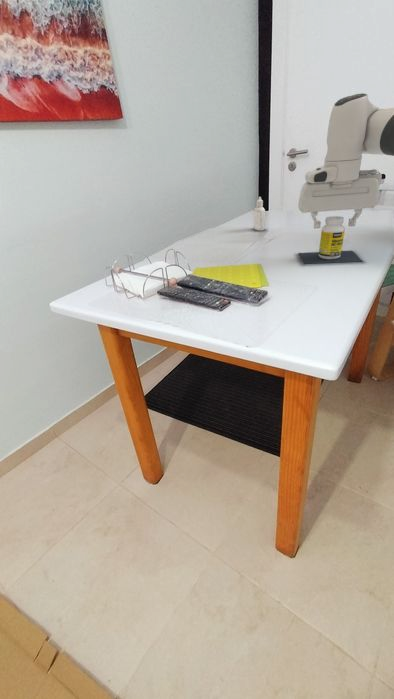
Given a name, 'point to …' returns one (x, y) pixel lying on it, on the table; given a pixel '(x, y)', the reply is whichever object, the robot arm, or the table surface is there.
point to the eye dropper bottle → (259, 216)
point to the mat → (315, 259)
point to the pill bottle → (332, 238)
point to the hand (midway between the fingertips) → (334, 226)
